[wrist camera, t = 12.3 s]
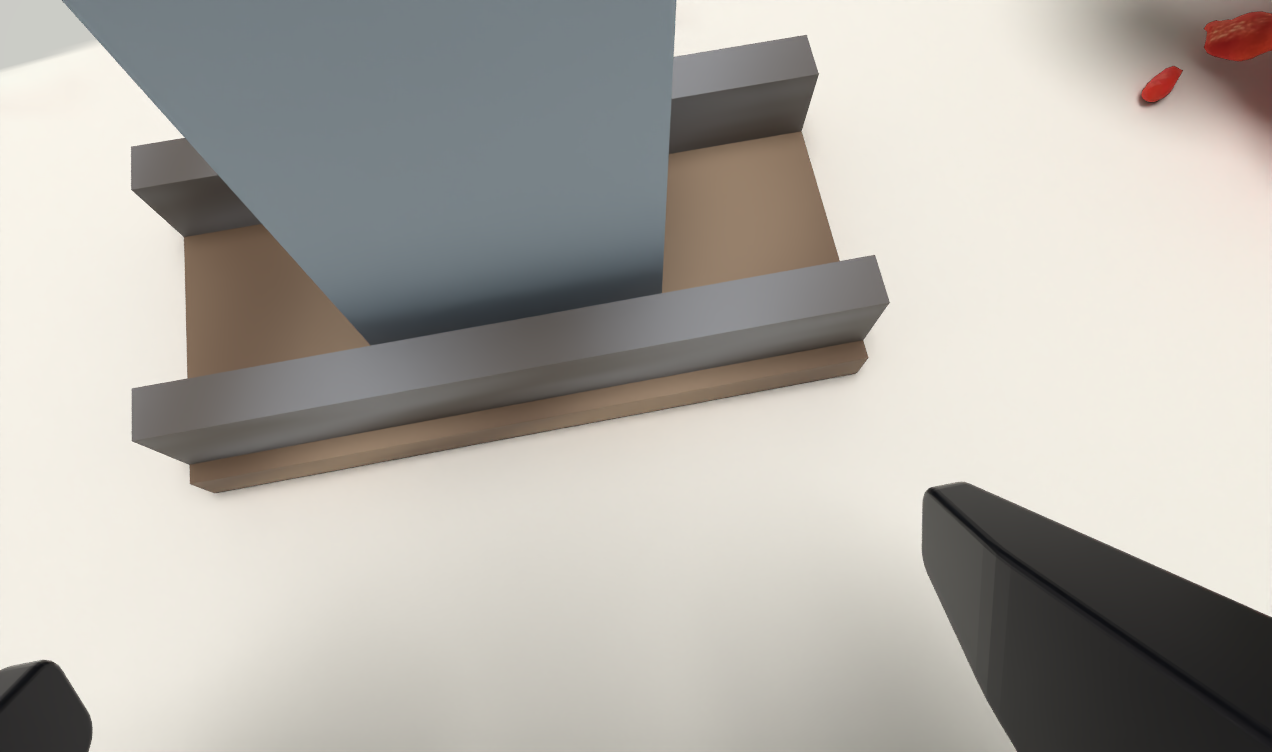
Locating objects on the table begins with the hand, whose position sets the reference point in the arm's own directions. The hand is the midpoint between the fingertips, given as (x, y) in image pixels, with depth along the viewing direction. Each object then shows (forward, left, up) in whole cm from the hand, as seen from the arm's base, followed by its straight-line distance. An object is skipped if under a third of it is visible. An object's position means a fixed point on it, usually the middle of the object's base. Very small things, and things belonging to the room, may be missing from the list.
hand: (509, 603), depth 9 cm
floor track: (+6, +4, -9) cm, 11 cm away
